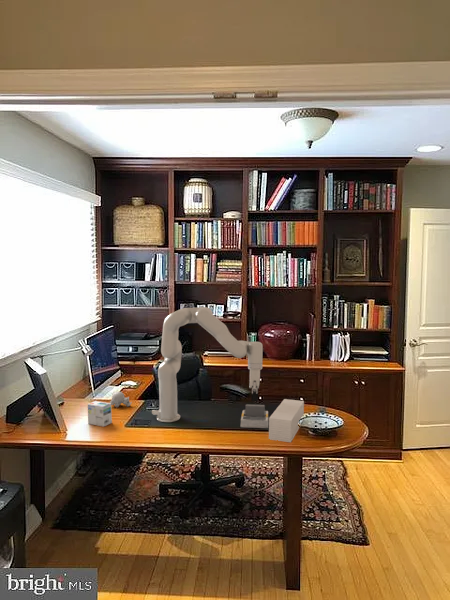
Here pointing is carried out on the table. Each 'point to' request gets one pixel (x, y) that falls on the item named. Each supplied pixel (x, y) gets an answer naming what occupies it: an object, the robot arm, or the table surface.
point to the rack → (254, 421)
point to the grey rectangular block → (285, 420)
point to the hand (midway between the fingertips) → (254, 398)
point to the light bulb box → (99, 413)
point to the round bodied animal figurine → (119, 399)
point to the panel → (255, 410)
